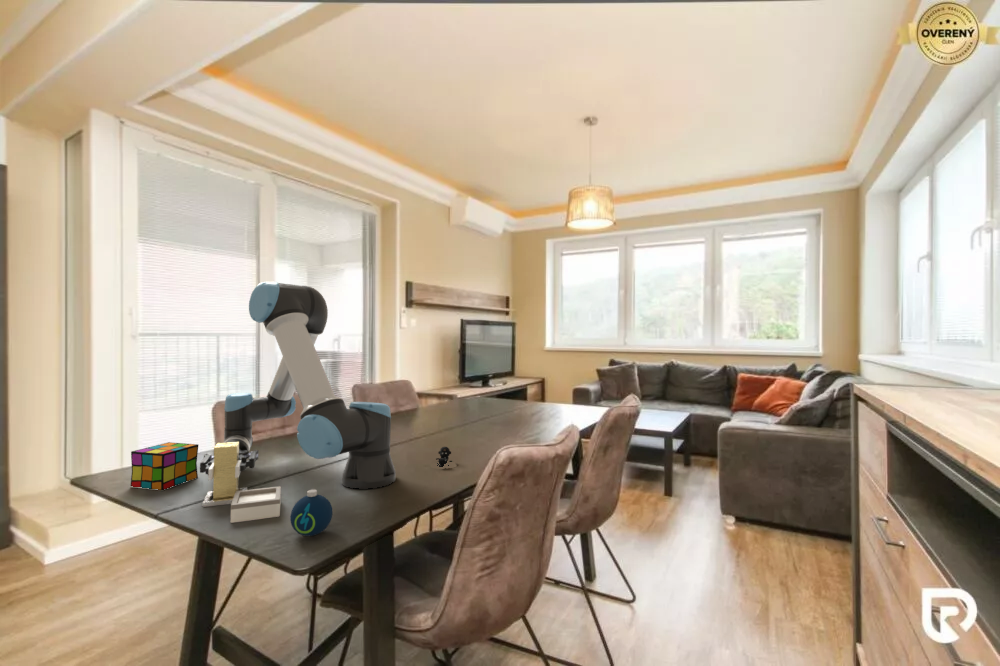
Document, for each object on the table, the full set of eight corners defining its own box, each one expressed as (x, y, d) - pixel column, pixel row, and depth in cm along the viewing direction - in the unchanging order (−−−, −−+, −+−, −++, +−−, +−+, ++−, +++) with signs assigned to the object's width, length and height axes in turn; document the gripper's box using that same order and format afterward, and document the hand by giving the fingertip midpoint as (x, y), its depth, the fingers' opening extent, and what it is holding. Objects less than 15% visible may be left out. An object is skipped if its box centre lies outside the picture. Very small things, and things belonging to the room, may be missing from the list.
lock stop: (238, 494, 121) (239, 441, 122) (235, 500, 117) (236, 445, 117) (216, 496, 119) (217, 443, 119) (213, 503, 115) (214, 447, 115)
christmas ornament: (280, 538, 96) (281, 491, 96) (310, 523, 104) (311, 479, 104) (312, 546, 93) (313, 496, 93) (340, 529, 101) (341, 484, 101)
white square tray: (280, 501, 116) (280, 486, 116) (279, 516, 107) (279, 499, 107) (235, 507, 112) (235, 491, 112) (230, 522, 103) (230, 505, 103)
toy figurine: (426, 470, 146) (426, 452, 146) (430, 461, 156) (430, 444, 156) (457, 470, 147) (458, 452, 147) (459, 462, 157) (460, 445, 157)
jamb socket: (247, 490, 124) (247, 487, 124) (244, 502, 116) (244, 498, 116) (208, 495, 120) (208, 491, 120) (202, 507, 112) (202, 503, 112)
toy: (162, 491, 123) (163, 454, 123) (130, 488, 125) (131, 451, 125) (197, 478, 134) (198, 444, 134) (167, 475, 136) (168, 442, 136)
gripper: (268, 460, 138) (264, 484, 117) (197, 467, 131) (179, 493, 110) (268, 436, 138) (264, 454, 117) (198, 440, 131) (180, 461, 110)
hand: (223, 473), depth 113 cm, fingers closed on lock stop, 5 cm apart
